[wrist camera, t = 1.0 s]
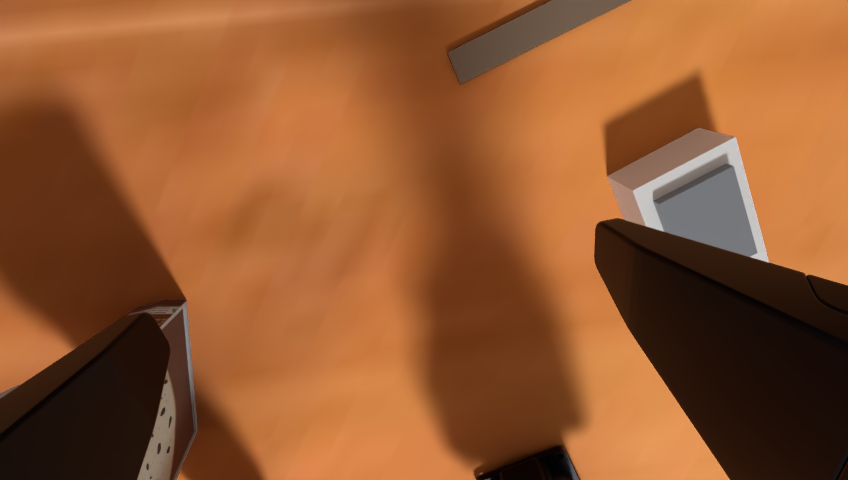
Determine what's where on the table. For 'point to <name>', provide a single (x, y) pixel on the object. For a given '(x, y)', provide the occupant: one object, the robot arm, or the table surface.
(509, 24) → the bar
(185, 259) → the table surface
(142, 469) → the food container
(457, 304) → the table surface
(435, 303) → the table surface
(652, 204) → the stud finder
